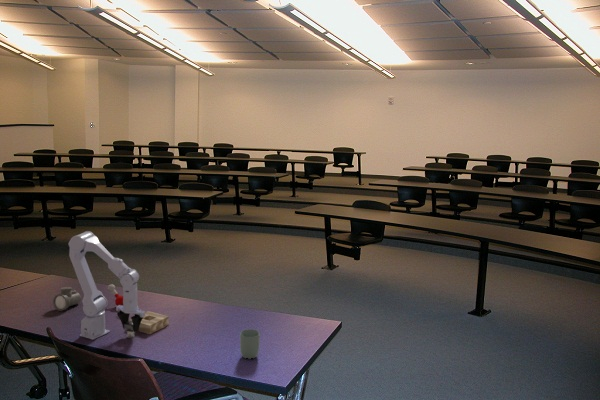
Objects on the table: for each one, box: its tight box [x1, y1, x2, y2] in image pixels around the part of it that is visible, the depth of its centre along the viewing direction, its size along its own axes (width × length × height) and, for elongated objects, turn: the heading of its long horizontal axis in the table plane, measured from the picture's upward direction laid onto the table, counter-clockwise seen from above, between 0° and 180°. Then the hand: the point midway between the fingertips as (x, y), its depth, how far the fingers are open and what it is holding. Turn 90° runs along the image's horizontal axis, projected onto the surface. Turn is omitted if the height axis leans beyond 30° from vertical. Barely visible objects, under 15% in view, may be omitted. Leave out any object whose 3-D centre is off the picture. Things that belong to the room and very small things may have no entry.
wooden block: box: [129, 310, 170, 335], centre depth 236 cm, size 12×12×4 cm
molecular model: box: [107, 284, 123, 306], centre depth 258 cm, size 18×6×10 cm, turn 62°
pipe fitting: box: [52, 286, 82, 312], centre depth 256 cm, size 12×8×10 cm
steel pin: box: [123, 321, 136, 339], centre depth 225 cm, size 5×5×6 cm
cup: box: [239, 328, 261, 360], centre depth 210 cm, size 8×8×10 cm
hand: (131, 329), depth 225 cm, fingers closed on steel pin, 5 cm apart
